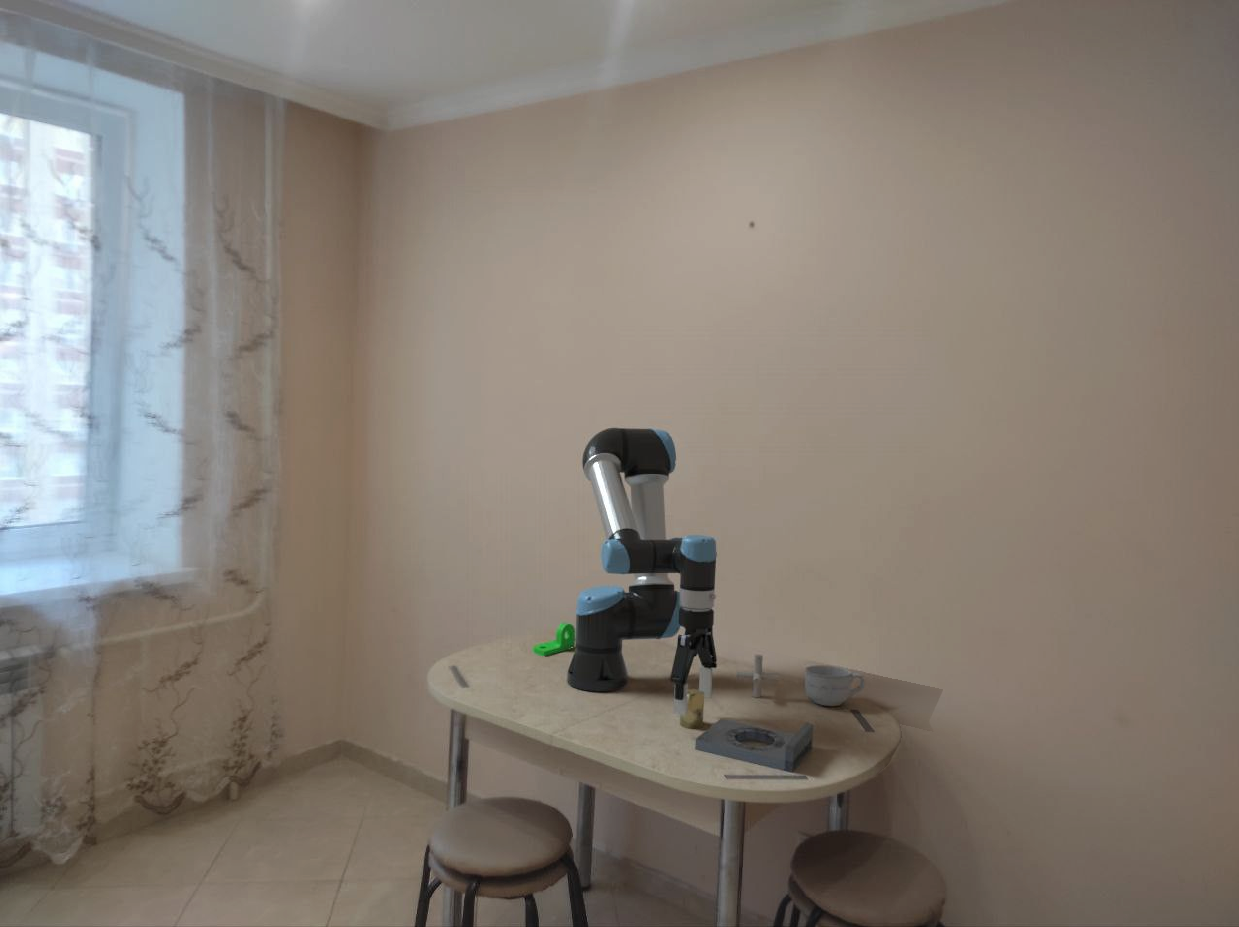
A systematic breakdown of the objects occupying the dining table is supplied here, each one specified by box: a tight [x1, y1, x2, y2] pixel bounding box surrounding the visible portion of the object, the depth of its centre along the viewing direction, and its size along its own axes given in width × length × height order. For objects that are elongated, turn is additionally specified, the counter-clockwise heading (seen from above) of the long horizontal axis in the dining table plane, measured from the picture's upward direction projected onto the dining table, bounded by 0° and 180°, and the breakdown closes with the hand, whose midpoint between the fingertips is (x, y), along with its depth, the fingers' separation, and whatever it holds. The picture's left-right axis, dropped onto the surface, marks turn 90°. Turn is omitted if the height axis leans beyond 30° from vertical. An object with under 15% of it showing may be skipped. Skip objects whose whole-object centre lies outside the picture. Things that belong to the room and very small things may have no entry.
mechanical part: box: [532, 622, 576, 657], centre depth 232 cm, size 12×6×8 cm, turn 140°
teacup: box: [804, 664, 866, 707], centre depth 198 cm, size 14×11×8 cm
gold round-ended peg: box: [679, 688, 705, 730], centre depth 180 cm, size 5×5×7 cm
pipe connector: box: [736, 654, 780, 699], centre depth 200 cm, size 10×10×10 cm
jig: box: [694, 717, 814, 773], centre depth 169 cm, size 20×14×5 cm
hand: (693, 705), depth 180 cm, fingers open, 13 cm apart
